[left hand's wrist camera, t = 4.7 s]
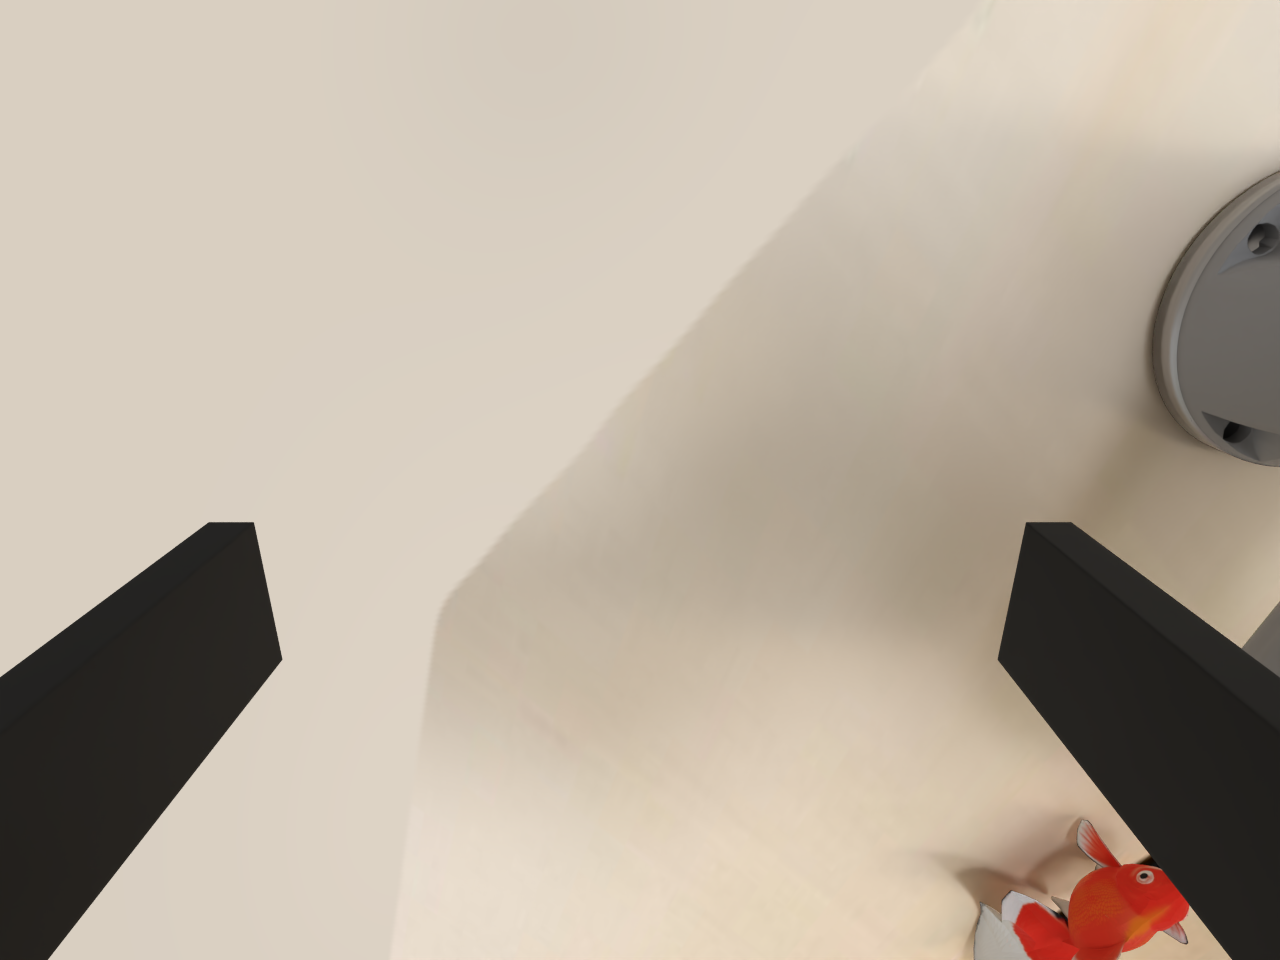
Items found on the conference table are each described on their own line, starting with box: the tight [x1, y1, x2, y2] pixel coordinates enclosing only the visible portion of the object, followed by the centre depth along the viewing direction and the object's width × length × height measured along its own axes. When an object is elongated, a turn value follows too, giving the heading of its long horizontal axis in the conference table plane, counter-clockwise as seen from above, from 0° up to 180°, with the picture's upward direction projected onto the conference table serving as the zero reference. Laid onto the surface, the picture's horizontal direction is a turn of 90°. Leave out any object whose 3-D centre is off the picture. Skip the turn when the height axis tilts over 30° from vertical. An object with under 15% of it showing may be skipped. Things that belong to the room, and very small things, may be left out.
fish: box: [974, 820, 1189, 960], centre depth 48 cm, size 11×16×10 cm
